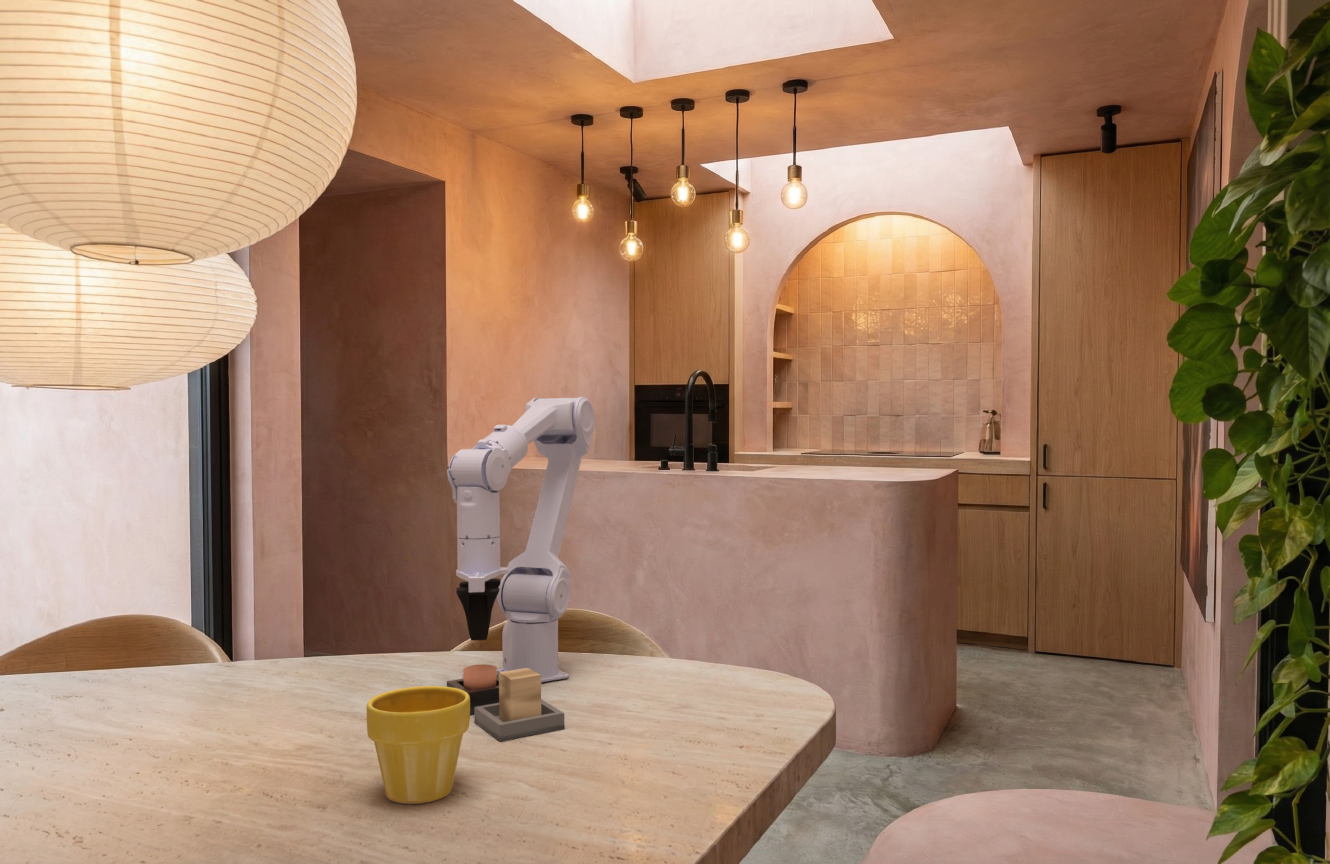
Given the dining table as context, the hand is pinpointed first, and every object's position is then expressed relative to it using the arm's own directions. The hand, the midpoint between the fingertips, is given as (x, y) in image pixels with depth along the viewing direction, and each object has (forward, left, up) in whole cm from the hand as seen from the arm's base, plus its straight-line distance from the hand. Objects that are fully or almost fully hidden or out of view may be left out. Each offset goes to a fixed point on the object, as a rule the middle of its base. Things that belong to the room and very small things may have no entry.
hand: (479, 636), depth 125 cm
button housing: (0, 0, -9) cm, 9 cm away
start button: (0, 0, -7) cm, 7 cm away
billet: (+11, +1, -9) cm, 14 cm away
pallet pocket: (+11, +1, -9) cm, 14 cm away
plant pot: (+25, -16, -10) cm, 31 cm away
